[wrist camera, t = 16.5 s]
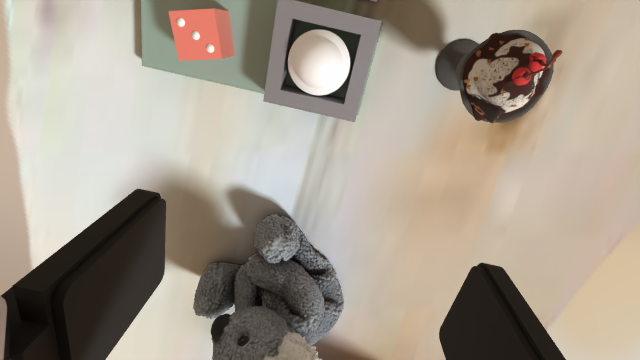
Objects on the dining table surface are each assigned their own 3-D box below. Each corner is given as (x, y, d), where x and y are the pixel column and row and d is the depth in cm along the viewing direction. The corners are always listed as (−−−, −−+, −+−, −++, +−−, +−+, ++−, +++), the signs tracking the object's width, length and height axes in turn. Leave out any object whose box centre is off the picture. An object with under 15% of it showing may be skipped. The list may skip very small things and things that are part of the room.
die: (188, 13, 32) (167, 11, 28) (228, 11, 31) (213, 8, 28) (196, 57, 33) (178, 60, 30) (235, 55, 33) (221, 58, 29)
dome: (297, 23, 31) (290, 22, 26) (355, 37, 31) (358, 38, 27) (287, 83, 33) (279, 91, 29) (341, 95, 33) (341, 105, 29)
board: (149, -33, 32) (118, -42, 27) (380, 23, 33) (387, 22, 28) (149, 64, 35) (122, 69, 31) (357, 111, 36) (359, 123, 32)
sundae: (488, 18, 32) (599, 9, 18) (498, 85, 34) (603, 121, 21) (420, 44, 33) (476, 53, 19) (435, 107, 36) (494, 154, 22)
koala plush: (278, 198, 41) (232, 325, 24) (372, 282, 46) (393, 440, 28) (197, 271, 47) (111, 417, 29) (288, 339, 52) (261, 501, 34)
